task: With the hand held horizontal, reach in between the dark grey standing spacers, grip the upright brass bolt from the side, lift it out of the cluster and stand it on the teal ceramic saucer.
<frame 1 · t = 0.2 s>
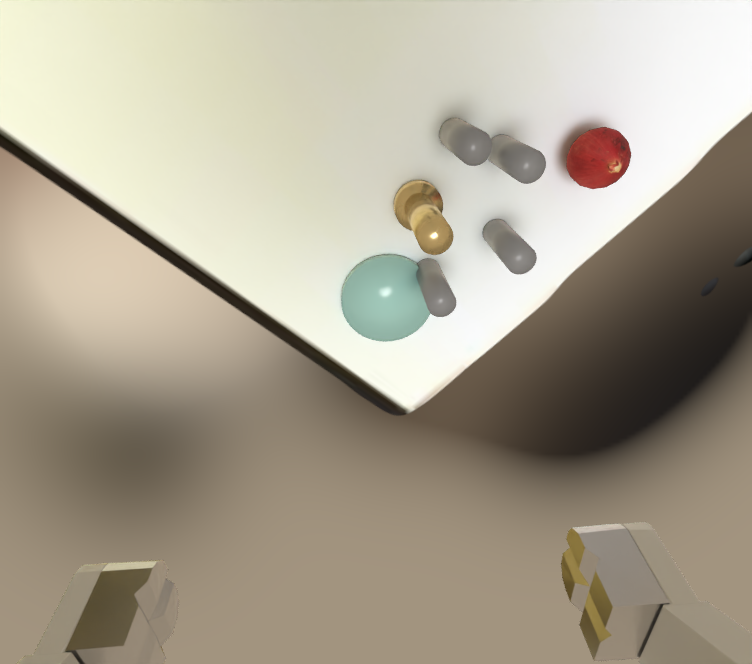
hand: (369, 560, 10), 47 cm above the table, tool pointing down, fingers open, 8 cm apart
saucer: (386, 297, 60), on the table
pomegranate: (581, 151, 53), on the table
bolt: (416, 204, 54), on the table
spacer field: (452, 200, 55), on the table
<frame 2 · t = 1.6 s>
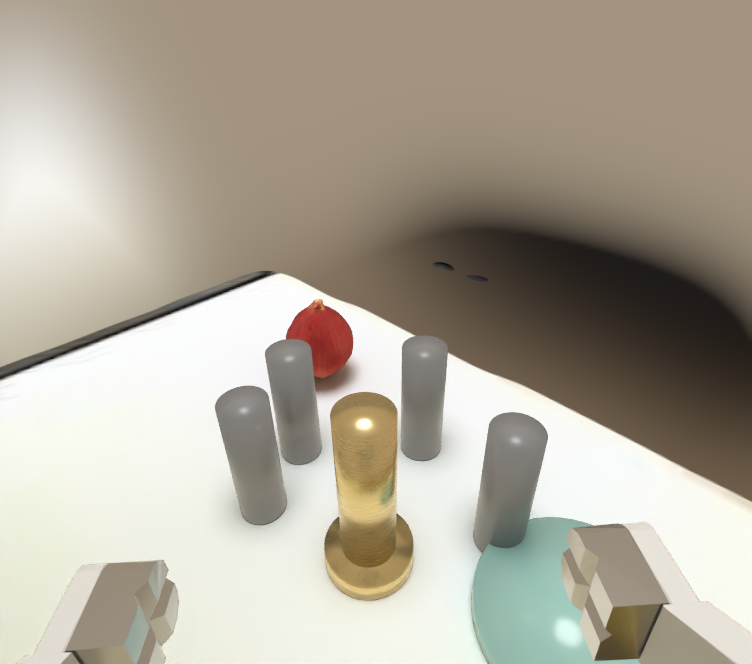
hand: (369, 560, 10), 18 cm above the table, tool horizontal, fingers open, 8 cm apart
saucer: (575, 619, 26), on the table
pomegranate: (322, 377, 45), on the table
bolt: (369, 557, 30), on the table
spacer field: (368, 502, 33), on the table
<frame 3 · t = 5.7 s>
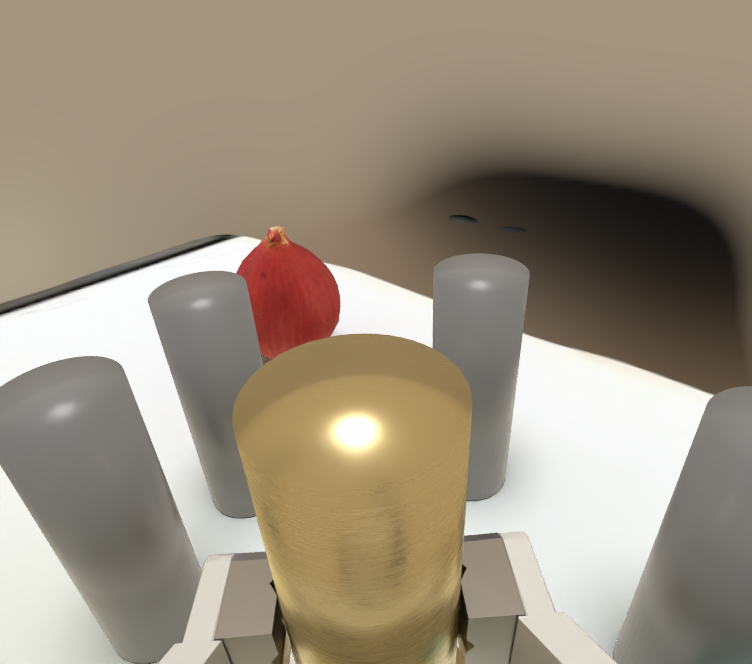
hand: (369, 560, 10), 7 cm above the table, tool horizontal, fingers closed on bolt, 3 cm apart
pomegranate: (295, 364, 28), on the table
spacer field: (377, 596, 16), on the table
when the fingers open (9 cm above the table, at t = 10.0 s): bolt stays where it is, resting on saucer.
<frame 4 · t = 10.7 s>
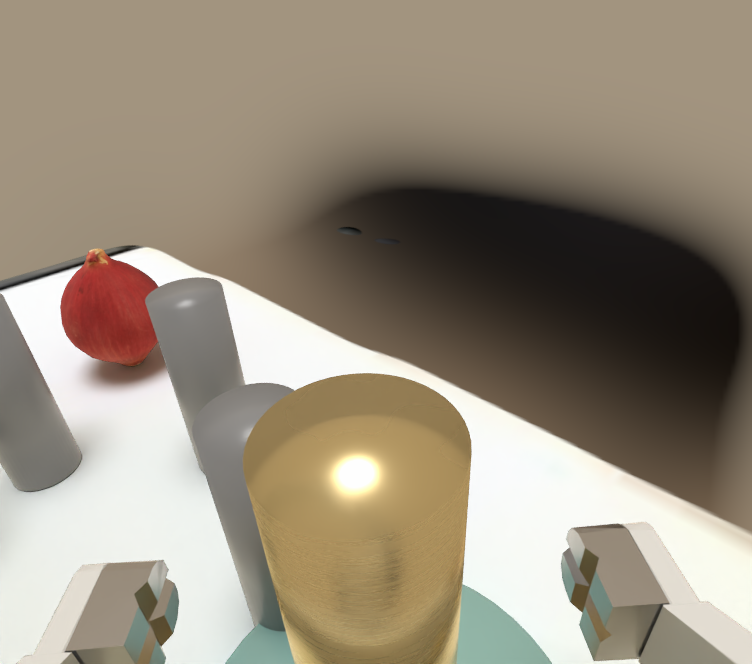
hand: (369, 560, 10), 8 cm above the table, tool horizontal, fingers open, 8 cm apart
pomegranate: (135, 365, 32), on the table
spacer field: (107, 549, 20), on the table
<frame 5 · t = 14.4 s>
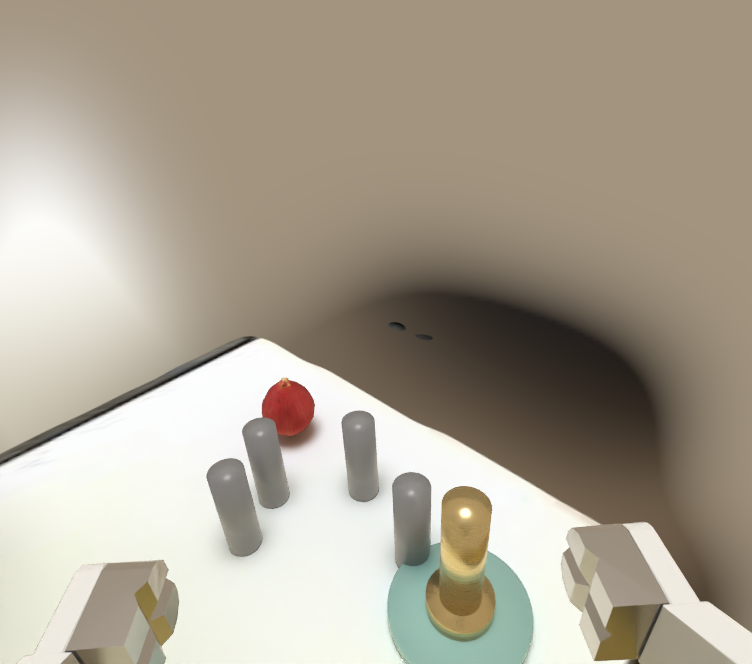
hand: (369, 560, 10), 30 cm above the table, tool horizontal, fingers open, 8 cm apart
saucer: (458, 613, 39), on the table
pomegranate: (292, 434, 57), on the table
bolt: (459, 606, 38), point 1 cm above the table, touching saucer
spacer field: (322, 535, 45), on the table
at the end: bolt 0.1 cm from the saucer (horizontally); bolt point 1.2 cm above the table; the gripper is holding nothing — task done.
